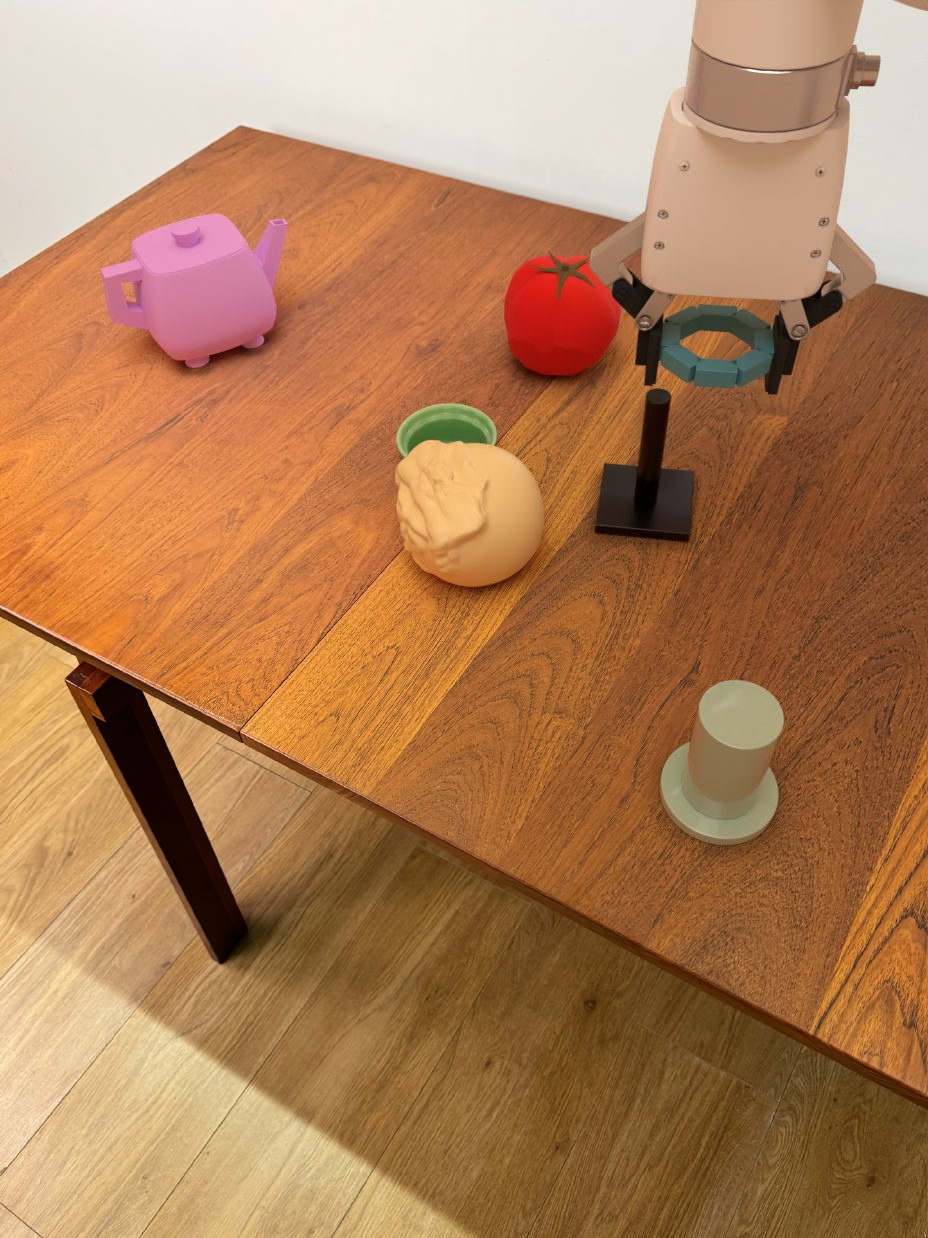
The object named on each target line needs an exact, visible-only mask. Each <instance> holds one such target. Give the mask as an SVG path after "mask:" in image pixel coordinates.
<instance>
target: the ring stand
mask: <svg viewBox="0 0 928 1238" xmlns="http://www.w3.org/2000/svg"><path fill="white" fill-rule="evenodd" d="M784 726H785V715H784V711H783V708H782V705H781V704H780V702H779V701H778V699H777V698H776V696H774V695H773V694H772V693H771V692H770V691H769V690H768V689H766V688H764V686H761V685H759V684H756V683H755V682H752V681H749V680H742V679H730V680H729V679H728V680H724V681H720V682H718V683H716V684H714V685H712V686H711V687H709V688H708V689H707V690H706V691H705V692H704V693H703V695H702V696H701V698H700V700H699V703H698V707H697V711H696V715H695V720H694V724H693V728H692V733H691V737H690V741H688V742H686V743H683V744H682V745H680V746H679V747H677V748H676V749H675V750H673V752H672V753H671V754H670V755H669V756H668V758H667V759H666V760H665V763H664V765H663V766H662V771H661V773H660V774H661V775H660V778H659V779H660V780H659V797H660V801H661V804H662V806H663V809H664V811H665V813H666V814H667V816H668V817H669V819H670V820H671V821H672V822H673V823H674V825H676V827H678V828H679V829H680V830H681V831H682V832H684V833H685V834H687V835H689V836H690V837H692V838H694V839H696V840H697V841H701V842H702V843H703V842H704V843H707V844H711V845H716V846H733V845H740V844H744V843H746V842H750V841H751V840H754V839H755V838H757V837H758V836H760V835H761V834H762V833H763V832H765V830H766V829H767V828H768V827H769V826H770V824H771V822H772V821H773V819H774V816H775V813H776V811H777V809H778V804H779V796H780V793H779V786H778V782H777V779H776V777H775V774H774V772H773V771H772V768H771V767H770V765H771V762H772V759H773V757H774V754H775V751H776V748H777V746H778V743H779V740H780V737H781V734H782V732H783V730H784V729H783V728H784Z"/></svg>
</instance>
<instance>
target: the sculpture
mask: <svg viewBox="0 0 928 1238" xmlns="http://www.w3.org/2000/svg"><path fill="white" fill-rule="evenodd" d="M394 483H395V485H396V487H397V490H398V492H397V496H396V497H397V500H396V502H395V510H396V514H397V519H398V523H399V526H400V527H399V532H400V536H401V537H402V538H403V539H404V541H403V548H404V550H405V551H407V552H409V553H410V554H411V558H412V559H413V561H414V562H415V563H416V565H418V567H420V569H421V570H422V571H423V572H425V573H426V574H427V573H428V574H432V575H434V576H436V577H437V578H438V579H440V580H442V581H444V582H446V583H449V584H452V585H455V586H459V587H460V586H461V587H470V588H474V587H475V588H478V587H485V586H490V585H494V584H497V583H500V582H502V581H504V580H506V579H508V578H510V577H512V576H513V575H515V574H516V573H518V572H519V571H520V570H521V569H523V568H524V567H525V566H526V565H527V564H528V563H529V561H530V560H531V559H532V558H533V556H534V555H535V553H536V552H537V550H538V548H539V546H540V543H541V542H542V541H541V540H542V537H543V534H544V531H545V530H544V529H545V505H544V501H543V500H544V499H543V496H542V493H541V490H540V487H539V485H538V483H537V481H536V479H535V477H534V475H533V473H532V472H531V470H530V469H529V468H528V467H527V465H526V464H524V463H523V462H522V460H520V458H518V457H517V456H515V454H513V453H512V452H509V451H508V450H506V449H504V448H502V447H500V446H496V445H495V446H493V445H489V444H482V443H467V444H464V443H463V442H461V441H456V442H453V443H448V444H446V443H442V442H441V441H439V440H427V441H424V442H422V443H420V444H419V445H417V446H416V447H415V448H414V449H413V450H412V451H411V452H410V453H409V454H408V456H407V457H406V458H404V459H403V460H402V459H401V460H400V461H399V462H398V464H397V465H396V467H395V471H394Z"/></svg>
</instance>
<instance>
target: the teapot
mask: <svg viewBox="0 0 928 1238" xmlns="http://www.w3.org/2000/svg"><path fill="white" fill-rule="evenodd" d="M288 228H289V223H288V222H287V220H286V219H285V218H276V219H270V220H268V224H267V227H266V228H265V230H264V232H263V234H262V236H261V238H260V239H259V242H258V243H257V245H256V247H255V249H254V250H252V248H251V247H250V244H249V243H248V241H247V240H246V239H245V237H244V236H243V235H242V234H241V232H240V230H239V229H238V228H237V226H236V225H235V224H234V223H233V222H232V221H231V220H230V219H229V217H228V216H226V215H223V213H208V214H203V215H198V216H194V217H189V218H186V219H180V220H178V221H174V222H171V223H169V224H166V225H162V226H160V227H157V228H155V229H152V230H149V231H146V232H144V233H142V234H141V235H139V236H137V237H136V238H134V239H133V241H132V242H131V251H130V254H131V255H130V257H131V258H130V260H127V261H124V262H120V263H116V264H112V265H109V266H105V267H101V268H100V274H101V279H102V285H103V293H104V297H105V302H106V308H107V314H108V316H109V318H110V320H111V322H112V324H113V323H114V324H117V325H118V324H119V325H123V326H127V327H131V328H137V329H141V330H146V331H147V332H148V333H149V334H150V336H151V337H152V339H153V340H154V341H155V342H156V344H157V345H158V346H159V347H160V348H161V349H162V350H163V351H164V352H165V354H167V355H168V356H169V357H170V358H171V359H173V360H176V361H184V364H185V366H186V367H188V368H193V369H194V368H197V369H198V368H201V367H204V366H205V365H207V364H208V363H209V361H210V356H211V355H215V354H219V353H222V352H225V351H229V350H231V349H234V348H236V347H239V346H242V347H243V348H245V349H255V348H258V347H261V346H262V345H263V344H264V342H265V337H264V336H263V335H265V334H266V333H268V332H269V331H271V330H272V329H273V328H274V324H275V322H276V318H277V311H278V310H277V303H276V299H275V296H274V292H273V290H274V286H275V283H276V278H277V275H278V271H279V266H280V262H281V259H282V258H281V257H282V253H283V249H284V246H285V242H286V236H287V233H288V230H289V229H288ZM126 283H132V289H133V295H134V300H135V301H131V300H130V301H129V300H126V296H125V292H124V289H123V285H122V284H126Z"/></svg>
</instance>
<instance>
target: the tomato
mask: <svg viewBox="0 0 928 1238" xmlns="http://www.w3.org/2000/svg"><path fill="white" fill-rule="evenodd" d="M547 252H548V254H547V255H538V256H535V257H533V258H531V259H528V260H527V261H525V262H524V263H523V264H522V265H521V266H520V267H519V268H517V270H516V271H514V273H513V274H512V277H511V279H510V282H509V283H508V287H507V291H506V294H505V297H504V300H503V302H504V304H503V309H504V310H503V311H504V312H503V313H504V314H503V319H504V324H505V327H506V332H507V345H508V347H509V349H510V352H511V353H512V354H513V356H514V357H515V358H516V359H517V360H518V362H520V363H521V364H522V366H524V367H525V368H526V369H528V370H531V371H532V372H535V373H538V374H540V375H543V376H574V375H576V374H578V373H581V372H583V371H585V370H586V369H588V368H589V367H591V366H593V365H594V364H596V363H597V362H598V361H600V360H601V359H602V358H603V357H604V355H605V353H606V352H607V351H608V348H609V347H610V346H611V344H612V342H613V341H614V340H615V337H616V336H617V333H618V330H619V327H620V321H621V313H622V306H621V305H620V304H619V303H618V302H617V301H616V300H615V299H614V298H613V297H612V292H611V291H610V290H609V289H608V287H605V285H604V284H603V283H602V282H601V281H600V280H599V279H598V277H597V276H596V275H595V274H594V273H593V272H592V270H591V269H590V267H589V262H590V256H588V257H587V256H583V255H579V254H577V255H573V256H570V257H567V258H566V257H563V256H560V255H557V254H556V255H555V254H552V252H550V251H549V250H547Z"/></svg>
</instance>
